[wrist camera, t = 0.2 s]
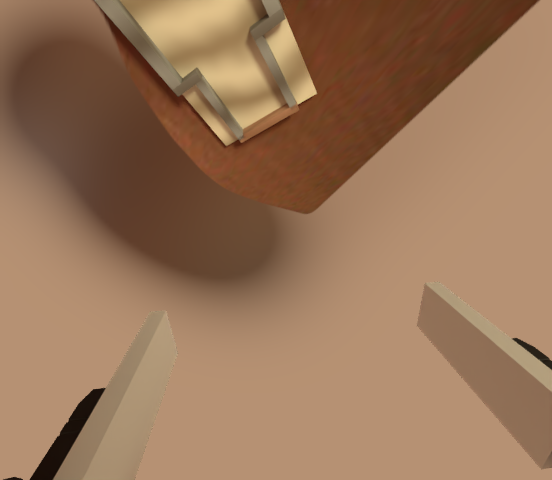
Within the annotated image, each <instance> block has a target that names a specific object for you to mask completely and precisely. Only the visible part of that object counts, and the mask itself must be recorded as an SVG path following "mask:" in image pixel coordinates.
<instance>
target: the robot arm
mask: <svg viewBox="0 0 552 480" xmlns="http://www.w3.org/2000/svg"><path fill="white" fill-rule="evenodd" d="M417 326H418V327H419V329H420V330H421V331H422V332H423V333H424V334H425V336H426V337H427V338H428V339H429V340H430V341H431V343H433V345H434V346H435V347H436V348H437V349H438V351H439V352H440V353H441V354H442V355H443V356H444V357H445V359H447V361H448V362H449V363H450V364H451V366H452V367H453V368H454V369H455V370H456V371H457V372H458V374H459V375H460V376H461V377H462V378H463V379H464V381H465V382H466V383H467V384H468V385H469V386H470V388H471V389H472V390H473V391H474V392H475V393H476V394H477V396H478V397H479V398H480V399H481V400H482V401H483V403H484V404H485V405H486V406H487V407H488V408H489V409H490V411H491V412H492V413H493V414H494V415H495V416H496V418H498V420H499V421H500V422H501V423H502V424H503V426H504V427H505V428H506V429H507V430H508V431H509V432H510V433H511V435H512V436H513V437H514V438H515V439H516V441H517V442H518V443H519V444H520V445H521V446H522V447H523V449H524V450H525V451H526V452H527V453H528V454H529V456H530V457H531V458H532V459H533V460H534V461H535V463H536V464H537V465H538V466H539V467H540V468H541V469H545V468H552V361H550V359H549V358H548V357H547V356H546V355H544V354H543V353H542V352H540V351H539V350H538V349H536V348H535V347H533V346H531V345H529V344H527V343H525V342H523V341H521V340H520V339H518V338H513V339H511V338H510V337H509V336H508V335H506V334H505V333H504V332H502V331H501V330H500V329H499V328H497V327H496V326H495V325H493V324H492V323H491V322H490V321H488V320H487V319H486V318H484V317H483V316H482V315H481V314H479V313H478V312H477V311H476V310H474V309H473V308H472V307H471V306H469V305H468V304H467V303H465V302H464V301H463V300H462V299H460V298H459V297H458V296H456V295H455V294H454V293H453V292H451V291H450V290H449V289H447V288H446V287H445V286H444V285H442V284H441V283H440V282H434V283H425V286H424V291H423V296H422V301H421V307H420V312H419V317H418V323H417ZM177 354H178V352H177V348H176V344H175V341H174V337H173V334H172V330H171V327H170V323H169V319H168V316H167V312H166V311H156V312H150V313H149V315H148V317H147V318H146V320H145V322H144V323H143V325H142V327H141V328H140V330H139V332H138V334H137V335H136V337H135V339H134V341H133V342H132V344H131V346H130V348H129V349H128V351H127V353H126V355H125V356H124V358H123V360H122V361H121V363H120V365H119V367H118V368H117V370H116V372H115V374H114V375H113V377H112V379H111V381H110V382H109V384H108V385H107V387H106V388H101V389H93V390H92V391H91V392H90V393H89V394H88V395H87V396H86V397H85V398H84V399H83V400H82V401H81V402H80V403H79V404H78V406H77V407H76V409H75V410H74V412H73V413H72V415H71V416H70V418H69V421H68V423H66V424H65V426H64V427H63V429H62V430H61V432H60V436H58V437H57V438H56V440H55V441H54V443H53V444H52V446H51V447H50V449H49V450H48V452H47V454H46V455H45V457H44V458H43V460H42V461H41V463H40V464H39V466H38V467H37V469H36V471H35V472H34V474H33V475H32V477H31V478H30V480H135V477H136V474H137V471H138V468H139V465H140V462H141V459H142V457H143V454H144V451H145V448H146V444H147V442H148V439H149V436H150V433H151V430H152V427H153V424H154V421H155V418H156V415H157V413H158V410H159V407H160V404H161V401H162V398H163V395H164V392H165V389H166V386H167V383H168V380H169V378H170V374H171V372H172V368H173V366H174V363H175V360H176V357H177ZM4 480H23V479H21V478H17V477H12V478H8V479H4Z"/></svg>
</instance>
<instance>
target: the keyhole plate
mask: <svg viewBox="0 0 552 480" xmlns="http://www.w3.org/2000/svg"><path fill="white" fill-rule="evenodd" d="M94 1H95V2H96V3H97V4H98V5H99V6H100V7H101V9H102V10H103V11H104V12H105V13H106V14H107V16H108V17H109V18H110V19H111V20H112V21H113V22H114V24H115V25H116V26H117V27H118V28H119V29H120V30H121V32H122V33H123V34H124V35H125V36H126V37H127V39H128V40H129V41H130V42H131V43H132V44H133V45H134V47H135V48H136V49H137V50H138V51H139V52H140V53H141V55H142V56H143V57H144V58H145V59H146V60H147V62H148V63H149V64H150V65H151V66H152V67H153V68H154V70H155V71H156V72H157V73H158V74H159V75H160V76H161V78H162V79H163V80H164V81H165V82H166V83H167V85H168V86H169V87H170V88H171V89H172V90H173V91H174V93H175V94H176V95H177V96H178V97H179V96H180V95H182V94H183V96H184V97H185V98H186V99H187V100H188V102H189V103H190V104H191V105H192V106H193V107H194V109H195V110H196V111H197V112H198V113H199V115H200V116H201V117H202V118H203V119H204V120H205V122H206V123H207V124H208V125H209V126H210V127H211V129H212V130H213V131H214V132H215V133H216V135H217V136H218V137H219V138H220V139H221V140H222V142H223V143H224V144H225V145H226V146H227V145H229V144H231V143H233V142H234V141H236V140H238V139H239V141H240V142H241V143H242V142H244V141H246V140H248V139H249V138H251V137H253V136H255V135H256V134H258V133H260V132H262V131H263V130H265V129H267V128H269V127H270V126H272V125H274V124H276V123H277V122H279V121H281V120H283V119H284V118H286V117H288V116H290V115H291V114H293V113H295V112H297V111H298V110H299V107H298V104H300V103H301V102H303V101H305V100H307V99H308V98H310V97H312V96H313V95H315V94H317V92H316V89H315V87H314V85H313V82H312V80H311V77H310V75H309V72H308V70H307V67H306V65H305V63H304V60H303V58H302V55H301V53H300V50H299V48H298V45H297V43H296V41H295V38H294V36H293V33H292V31H291V28H290V26H289V23H288V21H287V19H286V16H285V14H284V11H283V9H282V6H281V4H280V2H279V0H94Z"/></svg>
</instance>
